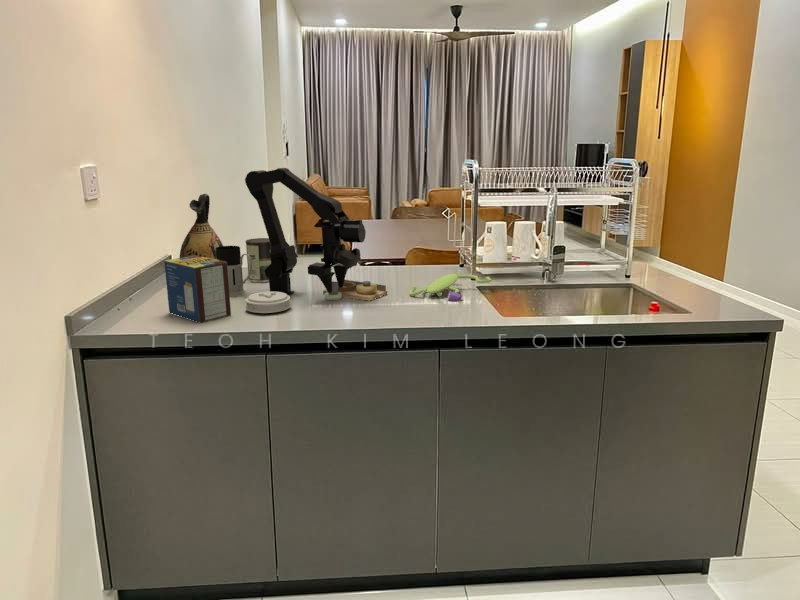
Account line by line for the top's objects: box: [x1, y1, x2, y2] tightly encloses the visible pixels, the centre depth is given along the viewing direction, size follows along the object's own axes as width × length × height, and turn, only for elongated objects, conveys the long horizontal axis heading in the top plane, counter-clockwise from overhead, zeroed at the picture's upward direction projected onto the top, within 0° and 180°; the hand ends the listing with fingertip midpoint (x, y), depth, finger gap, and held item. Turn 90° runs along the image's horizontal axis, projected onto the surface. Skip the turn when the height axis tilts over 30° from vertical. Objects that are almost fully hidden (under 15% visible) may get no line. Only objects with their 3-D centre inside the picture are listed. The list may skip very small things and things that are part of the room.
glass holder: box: [216, 245, 252, 298], centre depth 192 cm, size 9×14×15 cm, turn 59°
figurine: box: [408, 272, 492, 302], centre depth 197 cm, size 18×27×6 cm
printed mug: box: [245, 237, 271, 283], centre depth 214 cm, size 10×10×14 cm
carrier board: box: [322, 279, 388, 302], centre depth 194 cm, size 10×18×5 cm, turn 59°
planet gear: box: [324, 280, 343, 301], centre depth 189 cm, size 5×5×5 cm
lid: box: [245, 291, 291, 314], centre depth 176 cm, size 13×13×5 cm
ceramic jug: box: [179, 193, 224, 259], centre depth 212 cm, size 17×15×30 cm
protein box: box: [163, 256, 232, 323], centre depth 170 cm, size 10×15×16 cm
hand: (335, 290), depth 190 cm, fingers open, 5 cm apart
